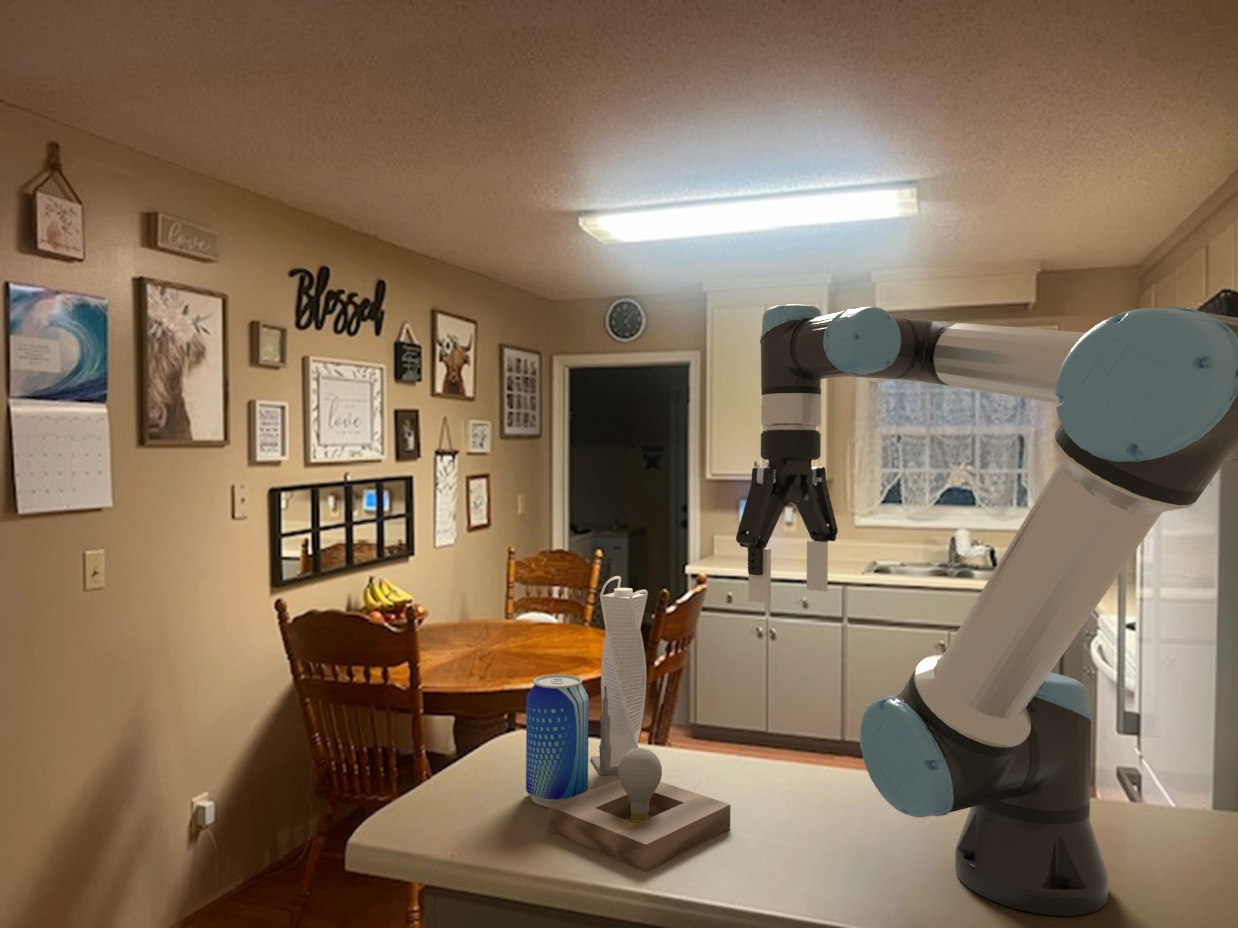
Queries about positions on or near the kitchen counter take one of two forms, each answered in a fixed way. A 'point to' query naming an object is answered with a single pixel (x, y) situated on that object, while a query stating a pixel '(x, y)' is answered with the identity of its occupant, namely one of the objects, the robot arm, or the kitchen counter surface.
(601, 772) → the skyscraper
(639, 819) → the light bulb
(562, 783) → the beer can
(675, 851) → the holder
